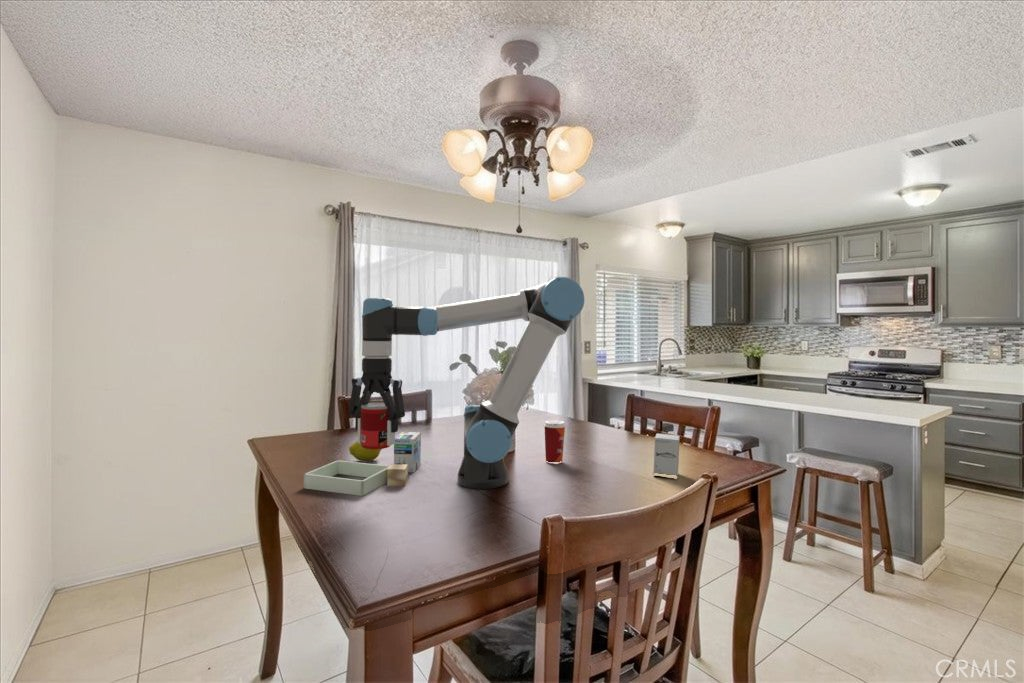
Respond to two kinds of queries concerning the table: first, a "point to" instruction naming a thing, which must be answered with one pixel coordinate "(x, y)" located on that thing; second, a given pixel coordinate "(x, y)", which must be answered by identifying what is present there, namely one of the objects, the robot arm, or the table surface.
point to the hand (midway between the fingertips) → (376, 443)
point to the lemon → (363, 452)
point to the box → (326, 482)
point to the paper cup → (554, 440)
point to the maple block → (397, 475)
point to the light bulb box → (408, 450)
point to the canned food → (374, 426)
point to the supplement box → (666, 454)
